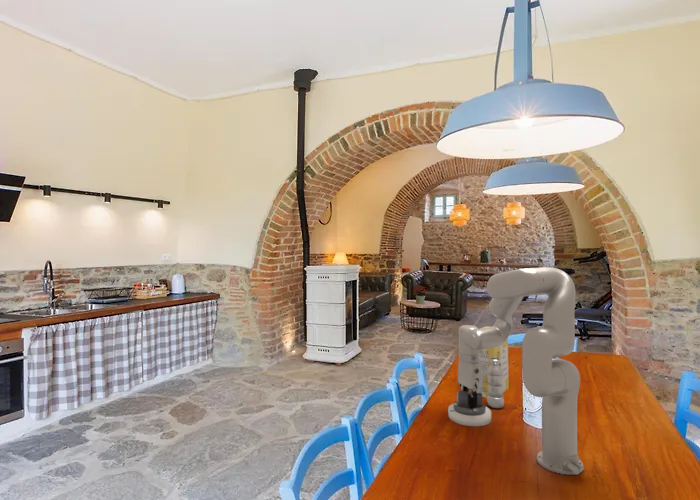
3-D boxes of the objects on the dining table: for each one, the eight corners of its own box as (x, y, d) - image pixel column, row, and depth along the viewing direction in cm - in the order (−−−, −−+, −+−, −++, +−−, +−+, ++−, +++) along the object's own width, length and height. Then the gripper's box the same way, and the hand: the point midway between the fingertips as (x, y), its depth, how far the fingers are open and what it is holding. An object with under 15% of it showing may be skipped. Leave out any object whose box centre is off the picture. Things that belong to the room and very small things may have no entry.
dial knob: (481, 403, 165) (481, 387, 165) (489, 415, 153) (489, 398, 153) (451, 403, 166) (450, 386, 166) (456, 415, 154) (456, 397, 154)
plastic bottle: (505, 410, 165) (505, 361, 165) (487, 409, 167) (487, 360, 167) (502, 404, 172) (502, 357, 172) (486, 403, 173) (485, 356, 173)
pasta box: (486, 383, 198) (486, 326, 198) (508, 388, 192) (508, 328, 192) (471, 394, 184) (470, 332, 184) (494, 399, 178) (494, 335, 178)
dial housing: (499, 424, 152) (499, 415, 152) (458, 427, 150) (458, 418, 150) (479, 408, 168) (479, 400, 168) (442, 410, 166) (442, 402, 166)
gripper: (490, 362, 152) (491, 411, 152) (464, 351, 168) (465, 395, 168) (473, 364, 150) (474, 413, 150) (448, 353, 166) (449, 398, 166)
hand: (469, 403), depth 159 cm, fingers closed on dial knob, 4 cm apart
